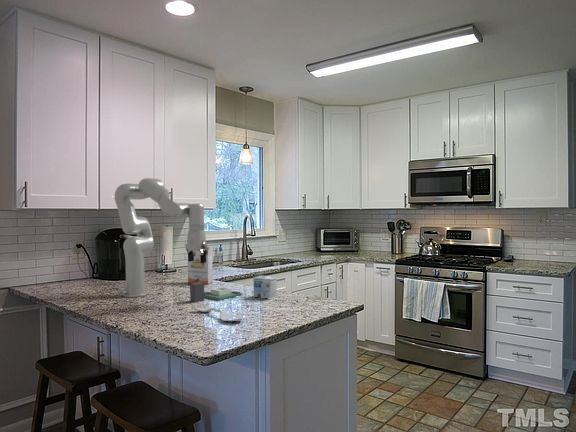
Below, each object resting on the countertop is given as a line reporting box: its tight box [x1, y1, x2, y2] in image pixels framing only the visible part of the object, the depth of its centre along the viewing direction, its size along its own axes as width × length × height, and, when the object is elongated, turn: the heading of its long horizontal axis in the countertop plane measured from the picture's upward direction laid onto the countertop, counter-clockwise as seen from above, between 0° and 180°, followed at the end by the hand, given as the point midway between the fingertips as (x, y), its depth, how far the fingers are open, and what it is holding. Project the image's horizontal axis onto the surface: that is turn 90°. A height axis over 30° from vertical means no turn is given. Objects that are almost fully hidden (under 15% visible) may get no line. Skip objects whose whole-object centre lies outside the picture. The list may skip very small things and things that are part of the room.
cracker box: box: [187, 249, 213, 285], centre depth 268 cm, size 14×6×21 cm, turn 73°
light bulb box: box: [253, 275, 278, 299], centre depth 228 cm, size 11×7×11 cm, turn 62°
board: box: [204, 286, 243, 301], centre depth 231 cm, size 16×16×4 cm
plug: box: [189, 282, 205, 303], centre depth 220 cm, size 6×4×9 cm, turn 141°
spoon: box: [190, 302, 245, 322], centre depth 190 cm, size 9×32×4 cm, turn 42°
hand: (197, 262), depth 219 cm, fingers open, 9 cm apart
